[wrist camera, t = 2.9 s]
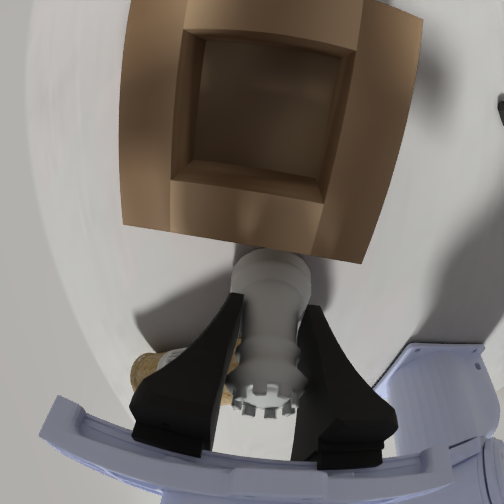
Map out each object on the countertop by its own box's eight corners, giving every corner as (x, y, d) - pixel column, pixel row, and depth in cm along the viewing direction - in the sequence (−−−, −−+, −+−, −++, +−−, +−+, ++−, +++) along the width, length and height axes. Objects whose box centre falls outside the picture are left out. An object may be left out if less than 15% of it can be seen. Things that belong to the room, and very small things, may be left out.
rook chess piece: (326, 278, 16) (348, 406, 9) (269, 315, 18) (262, 434, 11) (273, 226, 14) (269, 360, 8) (215, 273, 16) (182, 398, 10)
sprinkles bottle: (153, 416, 19) (319, 413, 13) (117, 377, 18) (288, 360, 12) (177, 379, 23) (326, 358, 18) (147, 341, 22) (301, 305, 16)
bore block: (390, 33, 9) (423, 19, 6) (346, 224, 14) (361, 264, 11) (169, 3, 9) (134, -16, 6) (154, 193, 14) (123, 224, 11)
